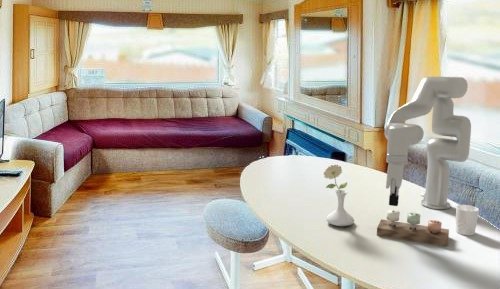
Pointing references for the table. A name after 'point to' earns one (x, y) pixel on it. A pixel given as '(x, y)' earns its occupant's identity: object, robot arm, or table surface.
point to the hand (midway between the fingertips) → (393, 205)
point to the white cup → (466, 219)
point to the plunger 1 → (393, 216)
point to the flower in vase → (339, 215)
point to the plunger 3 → (434, 226)
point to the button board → (412, 233)
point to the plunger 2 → (413, 219)
